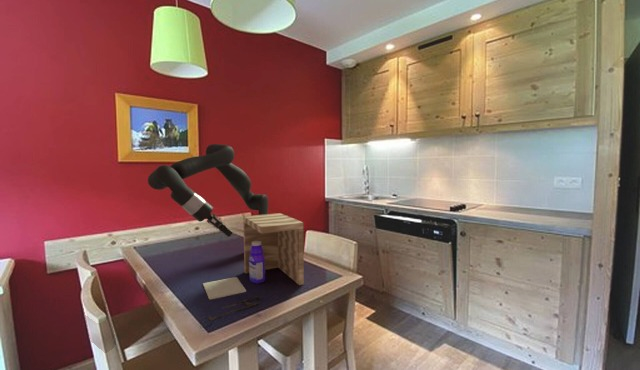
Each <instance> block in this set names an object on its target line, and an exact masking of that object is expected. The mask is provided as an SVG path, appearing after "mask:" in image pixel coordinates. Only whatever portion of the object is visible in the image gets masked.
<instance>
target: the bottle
mask: <svg viewBox="0 0 640 370" xmlns="http://www.w3.org/2000/svg"><path fill="white" fill-rule="evenodd" d="M250 254H251V255H250V257H249V273H248V274H249V281H250V282H251V283H254V284H256V285H257V284H261V283H264V282H265V280H266V270H265V258H264V255H263V250H262V246H261V241H253V242H252V248H251V251H250Z"/></svg>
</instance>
